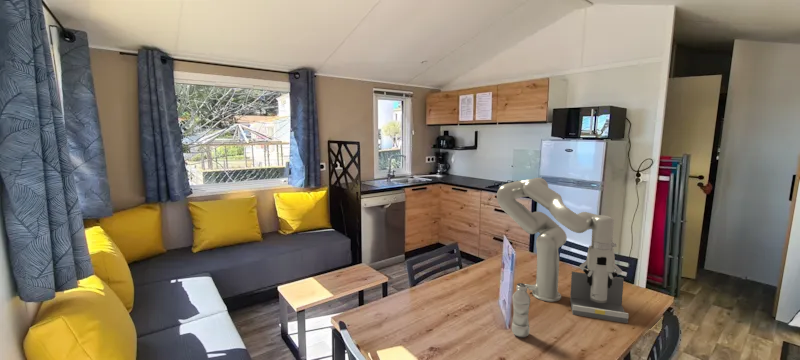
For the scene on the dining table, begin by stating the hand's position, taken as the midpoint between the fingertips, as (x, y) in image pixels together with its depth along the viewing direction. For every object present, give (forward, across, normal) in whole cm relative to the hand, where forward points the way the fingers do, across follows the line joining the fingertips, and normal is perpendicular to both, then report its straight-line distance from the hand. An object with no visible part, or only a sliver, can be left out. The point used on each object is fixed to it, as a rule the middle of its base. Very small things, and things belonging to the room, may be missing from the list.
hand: (599, 285), depth 147 cm
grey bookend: (+12, 0, 0) cm, 12 cm away
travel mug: (+7, 0, 0) cm, 7 cm away
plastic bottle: (+12, +30, +30) cm, 44 cm away
